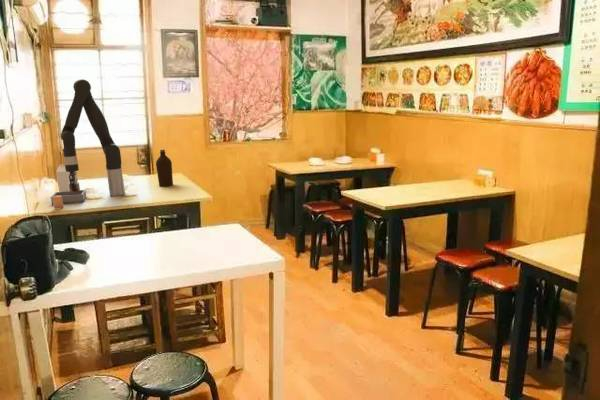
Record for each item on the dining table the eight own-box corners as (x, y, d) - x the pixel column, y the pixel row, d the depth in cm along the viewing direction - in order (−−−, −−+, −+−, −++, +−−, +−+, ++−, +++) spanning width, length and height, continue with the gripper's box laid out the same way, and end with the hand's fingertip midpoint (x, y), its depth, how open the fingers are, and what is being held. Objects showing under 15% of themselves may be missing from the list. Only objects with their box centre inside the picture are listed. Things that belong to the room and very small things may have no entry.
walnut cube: (79, 190, 311) (78, 182, 310) (78, 191, 306) (77, 183, 305) (71, 190, 310) (70, 182, 309) (70, 192, 305) (68, 184, 304)
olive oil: (162, 187, 337) (158, 151, 331) (155, 185, 345) (151, 150, 339) (176, 185, 344) (173, 149, 337) (169, 183, 352) (166, 148, 345)
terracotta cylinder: (64, 206, 296) (62, 195, 294) (62, 208, 291) (60, 196, 289) (55, 207, 294) (53, 195, 293) (53, 209, 290) (51, 197, 288)
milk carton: (68, 193, 330) (64, 165, 326) (59, 193, 332) (54, 165, 327) (75, 191, 337) (71, 163, 332) (66, 190, 338) (62, 163, 334)
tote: (87, 197, 317) (86, 189, 316) (83, 202, 304) (82, 194, 303) (56, 199, 313) (55, 192, 312) (52, 205, 300) (50, 197, 299)
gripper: (75, 164, 298) (79, 192, 302) (79, 161, 311) (83, 187, 316) (62, 165, 296) (66, 193, 300) (66, 162, 310) (70, 188, 314)
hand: (75, 190), depth 308 cm, fingers closed on walnut cube, 5 cm apart
